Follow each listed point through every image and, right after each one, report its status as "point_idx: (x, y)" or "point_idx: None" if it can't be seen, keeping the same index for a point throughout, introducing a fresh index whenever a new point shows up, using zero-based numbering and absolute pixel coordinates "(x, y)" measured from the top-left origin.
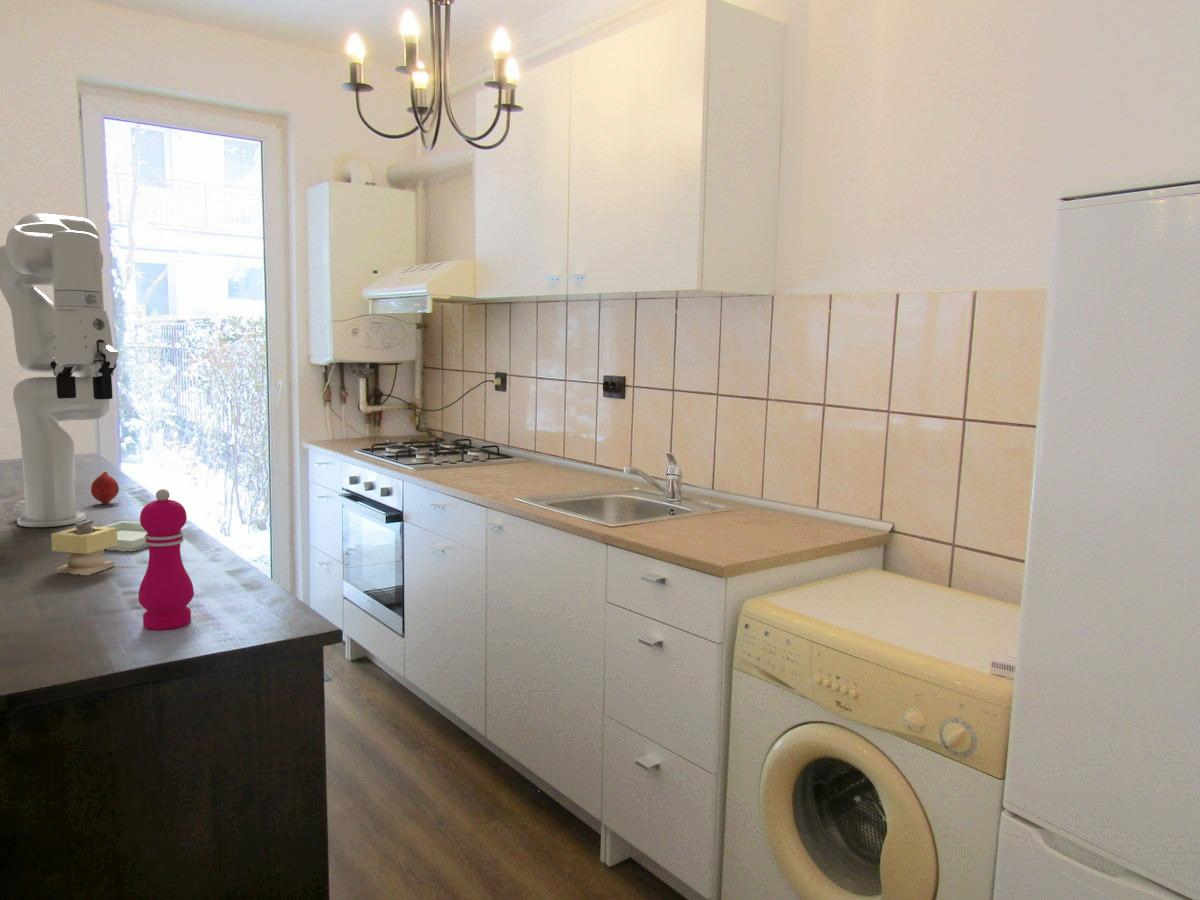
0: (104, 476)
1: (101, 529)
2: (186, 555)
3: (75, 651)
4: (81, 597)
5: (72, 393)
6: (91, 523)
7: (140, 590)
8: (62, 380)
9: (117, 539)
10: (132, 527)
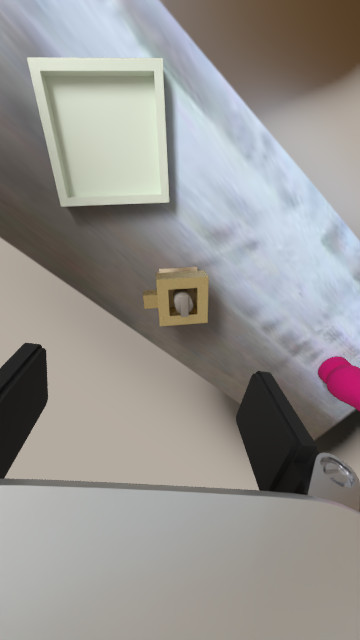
0: None
1: (195, 287)
2: (243, 191)
3: (302, 412)
4: (238, 348)
5: (38, 370)
6: (188, 298)
7: (337, 398)
8: (7, 457)
9: (143, 201)
10: (64, 74)
